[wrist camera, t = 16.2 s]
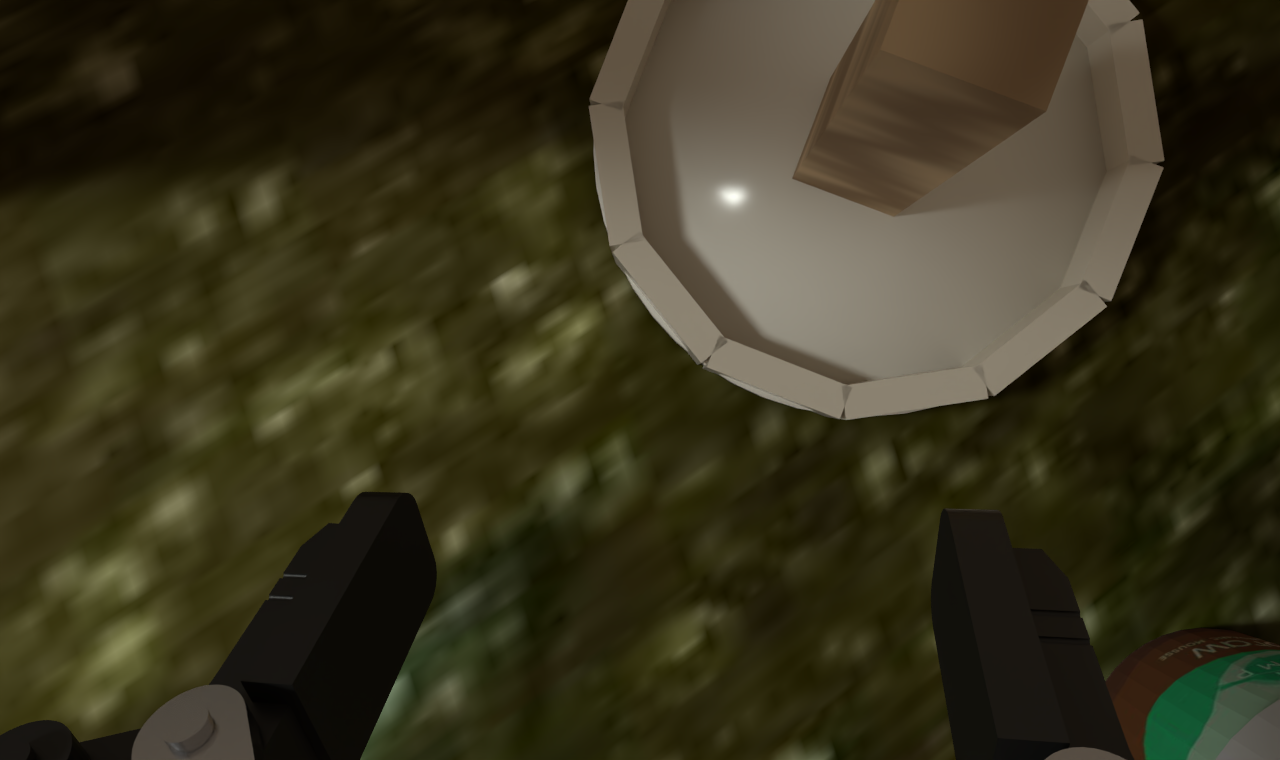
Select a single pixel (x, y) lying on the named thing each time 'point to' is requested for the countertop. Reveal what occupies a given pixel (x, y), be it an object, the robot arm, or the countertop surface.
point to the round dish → (859, 210)
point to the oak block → (933, 93)
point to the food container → (1200, 697)
